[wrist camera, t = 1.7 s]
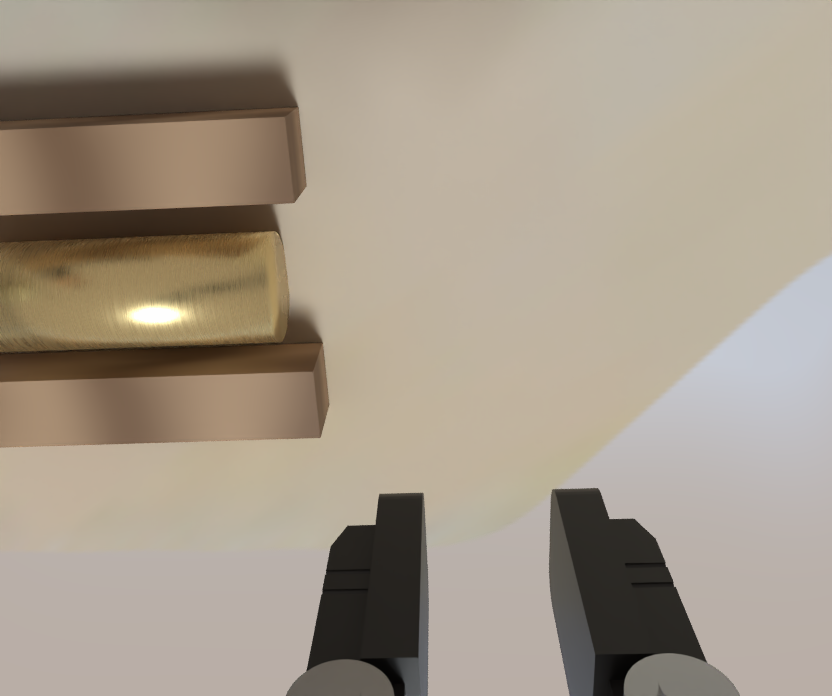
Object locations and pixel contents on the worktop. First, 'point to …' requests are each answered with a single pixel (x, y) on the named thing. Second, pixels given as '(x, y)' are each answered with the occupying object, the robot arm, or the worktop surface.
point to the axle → (143, 292)
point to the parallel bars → (168, 367)
